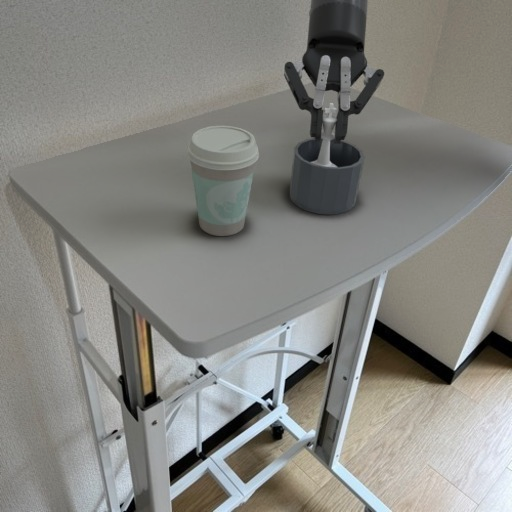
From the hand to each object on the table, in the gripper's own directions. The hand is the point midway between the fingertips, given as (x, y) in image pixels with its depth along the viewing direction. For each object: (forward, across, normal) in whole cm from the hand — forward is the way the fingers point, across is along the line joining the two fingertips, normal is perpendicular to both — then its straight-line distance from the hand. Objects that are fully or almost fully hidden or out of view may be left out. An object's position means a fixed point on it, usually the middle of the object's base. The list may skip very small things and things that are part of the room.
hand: (327, 140), depth 71 cm
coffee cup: (+12, -13, +2) cm, 17 cm away
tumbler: (+5, +1, +8) cm, 10 cm away
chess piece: (+3, 0, +6) cm, 6 cm away
